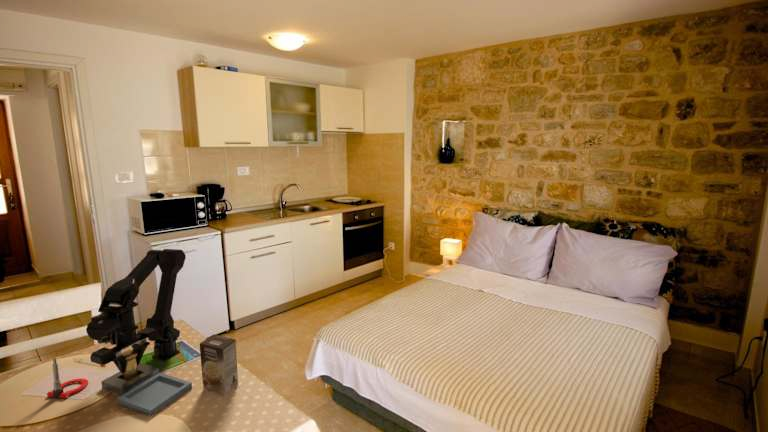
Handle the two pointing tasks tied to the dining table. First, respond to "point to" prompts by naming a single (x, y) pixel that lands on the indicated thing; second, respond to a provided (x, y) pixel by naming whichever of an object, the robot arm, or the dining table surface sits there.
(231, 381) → the coffee box
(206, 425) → the dining table surface
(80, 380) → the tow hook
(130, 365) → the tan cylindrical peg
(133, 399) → the tray
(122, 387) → the block
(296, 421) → the dining table surface
